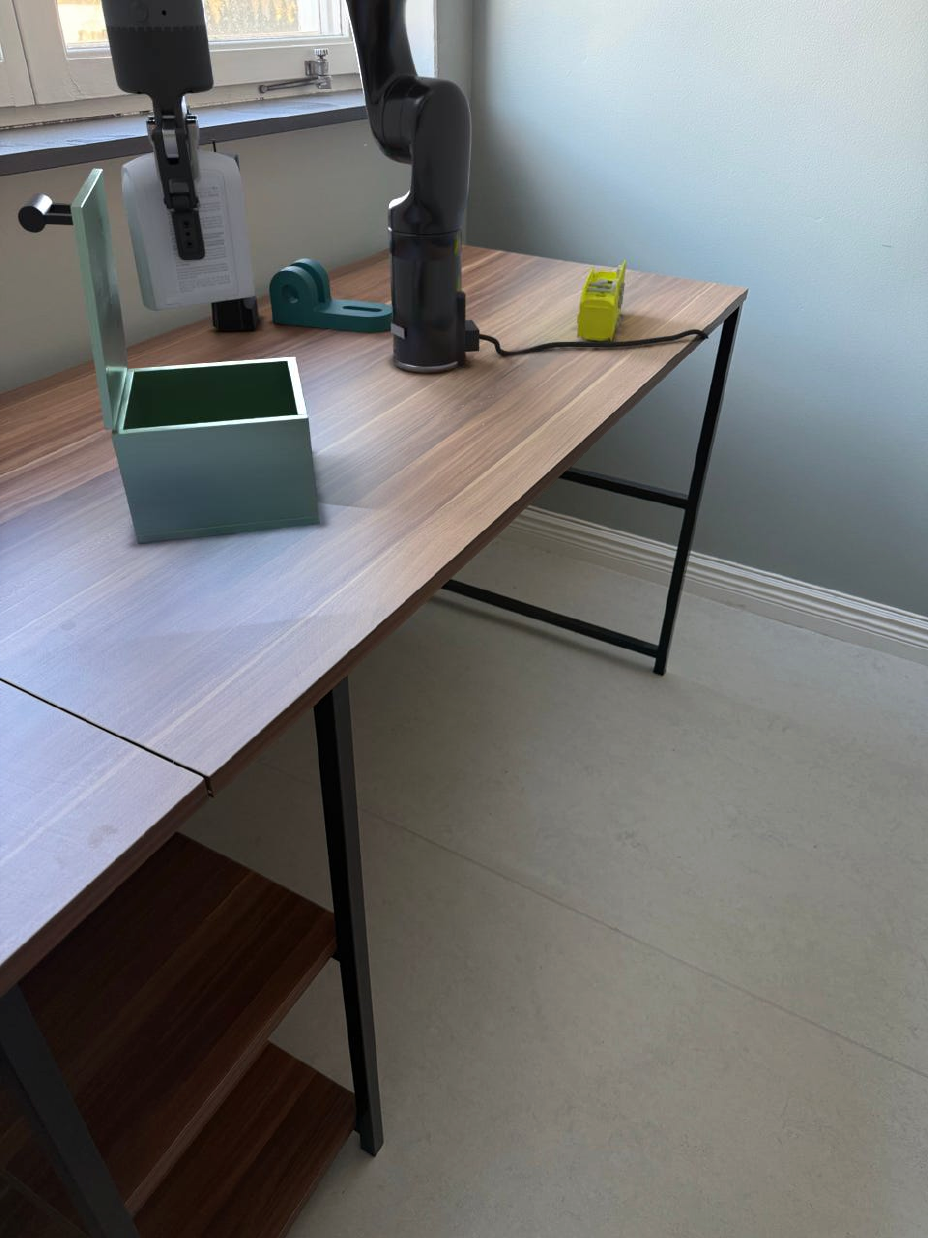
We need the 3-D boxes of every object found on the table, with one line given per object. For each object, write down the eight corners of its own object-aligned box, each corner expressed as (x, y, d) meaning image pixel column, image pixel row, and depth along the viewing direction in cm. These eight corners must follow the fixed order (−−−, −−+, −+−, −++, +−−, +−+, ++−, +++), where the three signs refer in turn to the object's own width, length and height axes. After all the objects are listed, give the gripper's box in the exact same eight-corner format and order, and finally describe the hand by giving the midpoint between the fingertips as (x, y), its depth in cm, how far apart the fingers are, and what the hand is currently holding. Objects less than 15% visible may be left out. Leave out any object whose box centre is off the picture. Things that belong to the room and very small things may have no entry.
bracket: (273, 322, 134) (266, 268, 129) (292, 309, 139) (286, 256, 134) (385, 334, 130) (382, 278, 125) (400, 319, 135) (398, 266, 130)
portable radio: (220, 315, 136) (191, 131, 122) (259, 314, 137) (235, 131, 122) (212, 332, 130) (181, 140, 115) (254, 331, 130) (228, 140, 116)
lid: (102, 168, 78) (33, 164, 76) (81, 206, 65) (-1, 202, 64) (128, 364, 88) (67, 364, 87) (114, 429, 75) (43, 430, 74)
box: (305, 453, 98) (295, 356, 91) (319, 524, 85) (308, 417, 79) (147, 468, 94) (125, 368, 88) (137, 543, 82) (110, 434, 76)
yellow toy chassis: (614, 346, 126) (620, 285, 121) (574, 342, 127) (579, 283, 122) (623, 312, 139) (630, 256, 134) (587, 309, 140) (592, 254, 135)
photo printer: (246, 286, 85) (226, 141, 77) (263, 298, 82) (244, 147, 74) (138, 303, 80) (106, 150, 73) (152, 316, 77) (121, 158, 70)
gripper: (204, 23, 63) (238, 269, 73) (206, 15, 75) (235, 229, 85) (94, 24, 62) (144, 274, 72) (113, 15, 73) (154, 233, 83)
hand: (193, 249), depth 78 cm, fingers closed on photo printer, 5 cm apart
